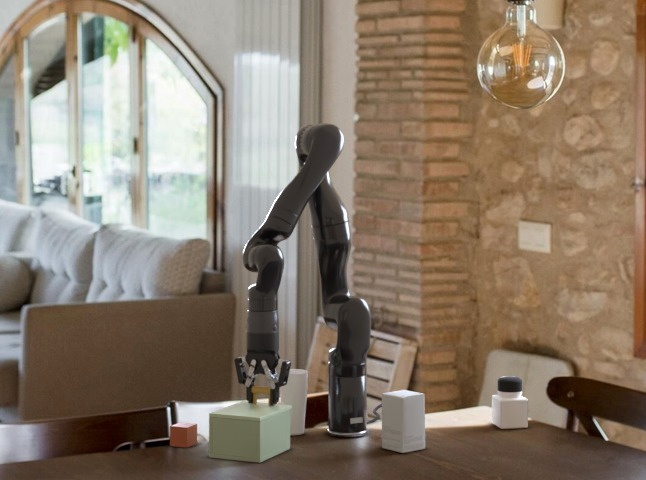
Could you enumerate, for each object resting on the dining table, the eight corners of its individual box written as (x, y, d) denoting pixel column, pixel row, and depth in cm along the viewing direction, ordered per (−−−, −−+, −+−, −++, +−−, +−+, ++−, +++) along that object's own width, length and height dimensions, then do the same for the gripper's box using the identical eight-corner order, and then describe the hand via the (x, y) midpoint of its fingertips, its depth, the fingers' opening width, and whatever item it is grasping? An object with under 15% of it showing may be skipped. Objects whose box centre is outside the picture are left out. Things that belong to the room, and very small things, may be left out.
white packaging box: (426, 449, 293) (426, 393, 294) (401, 453, 289) (401, 397, 289) (405, 443, 299) (404, 388, 299) (380, 448, 294) (380, 392, 295)
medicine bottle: (528, 428, 316) (528, 379, 316) (500, 429, 315) (500, 380, 315) (518, 422, 323) (518, 374, 323) (491, 423, 322) (491, 375, 322)
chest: (240, 443, 299) (241, 405, 299) (290, 448, 294) (290, 409, 294) (208, 457, 285) (208, 416, 285) (259, 462, 280) (260, 421, 280)
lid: (242, 404, 300) (242, 382, 300) (291, 408, 295) (291, 386, 295) (208, 416, 285) (209, 394, 286) (260, 421, 280) (260, 398, 280)
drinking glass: (309, 431, 313) (309, 369, 313) (305, 437, 306) (305, 373, 306) (281, 430, 313) (282, 368, 314) (277, 436, 306) (277, 373, 307)
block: (180, 442, 301) (180, 422, 301) (197, 443, 299) (197, 423, 299) (169, 446, 296) (169, 425, 296) (186, 447, 294) (187, 427, 295)
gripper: (297, 329, 296) (297, 403, 296) (243, 326, 302) (242, 398, 301) (283, 333, 289) (283, 409, 289) (227, 330, 295) (227, 404, 295)
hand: (262, 403), depth 295 cm, fingers closed on lid, 5 cm apart
